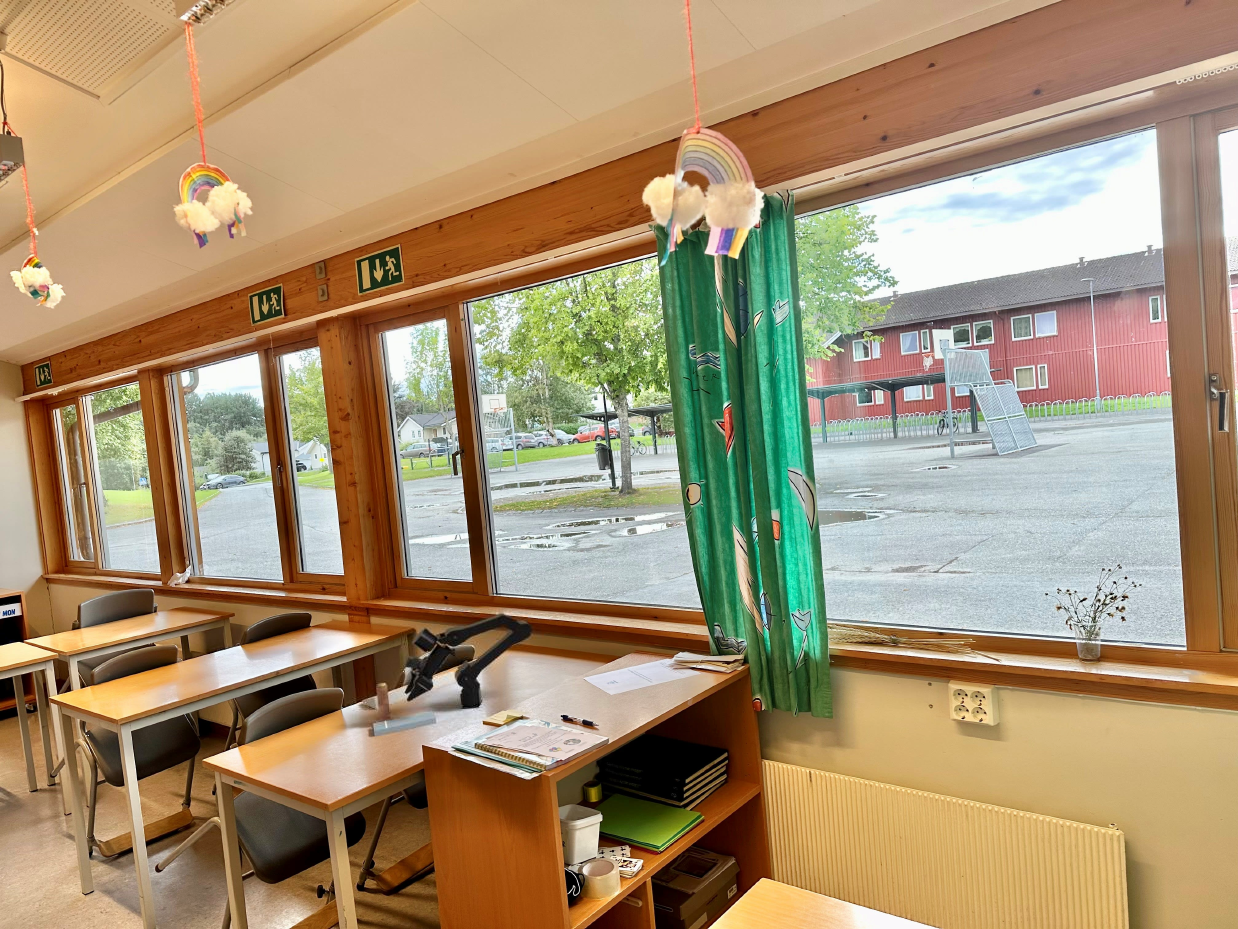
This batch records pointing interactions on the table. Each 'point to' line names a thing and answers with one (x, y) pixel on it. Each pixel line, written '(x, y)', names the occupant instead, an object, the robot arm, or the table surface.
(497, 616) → the robot arm
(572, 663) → the table surface
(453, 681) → the decorative molding
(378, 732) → the board
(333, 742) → the table surface
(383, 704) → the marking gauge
